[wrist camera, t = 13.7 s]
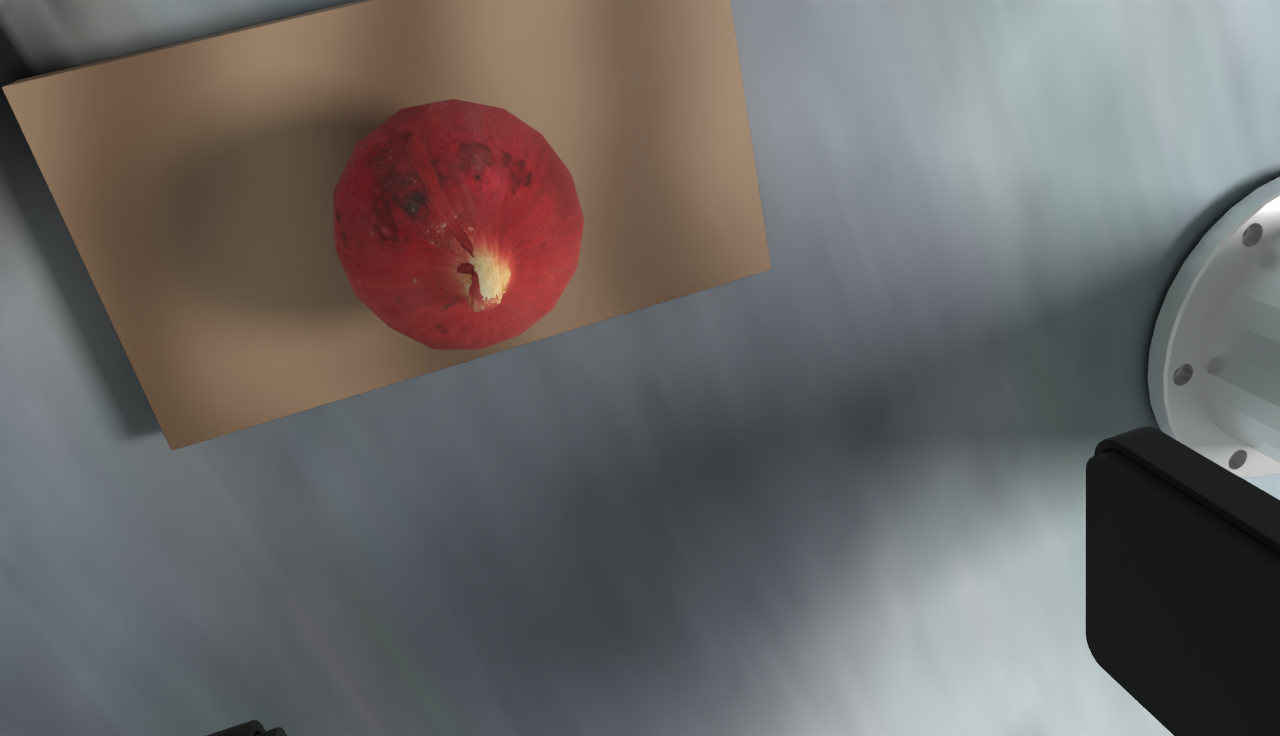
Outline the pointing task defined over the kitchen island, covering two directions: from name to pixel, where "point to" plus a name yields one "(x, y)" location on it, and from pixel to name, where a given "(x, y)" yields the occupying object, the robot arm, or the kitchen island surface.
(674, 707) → the kitchen island surface
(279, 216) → the cutting board
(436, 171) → the red round fruit
